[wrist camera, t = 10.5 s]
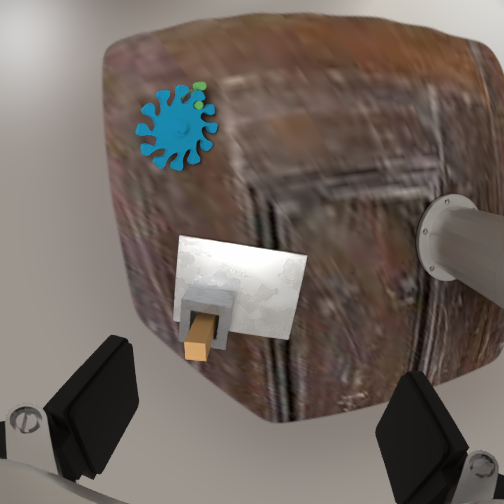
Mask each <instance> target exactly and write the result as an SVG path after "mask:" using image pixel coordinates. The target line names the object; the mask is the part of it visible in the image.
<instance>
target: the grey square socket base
mask: <svg viewBox="0 0 504 504" xmlns="http://www.w3.org/2000/svg"><path fill="white" fill-rule="evenodd" d="M306 260H307V255H306V254H301V253H295V252H289V251H283V250H276V249H270V248H264V247H258V246H252V245H245V244H239V243H233V242H226V241H220V240H214V239H208V238H201V237H195V236H188V235H182V234H181V235H180V238H179V248H178V260H177V272H176V285H175V300H174V318H173V321H178V322H180V328H179V341H180V342H184V341H185V339H186V337H187V335H188V333H189V331H190V328H191V326H192V324H193V322H194V320H195V318H196V316H197V314H198V312H203V313H209V314H214V315H219V321H218V324H217V327H216V330H215V334H214V337H213V340H212V343H211V348H216V349H222V350H225V349H226V345H227V340H228V336H229V331H232V332H239V333H245V334H251V335H258V336H265V337H272V338H279V339H287V340H288V339H289V335H290V331H291V327H292V323H293V318H294V314H295V310H296V305H297V301H298V297H299V292H300V288H301V283H302V278H303V274H304V269H305V264H306Z"/></svg>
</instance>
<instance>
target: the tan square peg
mask: <svg viewBox="0 0 504 504" xmlns="http://www.w3.org/2000/svg"><path fill="white" fill-rule="evenodd" d="M218 321H219V315H214V314H209V313H203V312H198V314H197V316H196V318H195V320H194V322H193V324H192V326H191V328H190V331H189V333H188V335H187V337H186V339H185V341H184V345H185V358H186V359H189V360H199V361H206V360H207V356H208V353H209V350H210V347H211V343H212V340H213V337H214V334H215V330H216V327H217V324H218Z"/></svg>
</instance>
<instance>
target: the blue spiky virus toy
mask: <svg viewBox="0 0 504 504" xmlns="http://www.w3.org/2000/svg"><path fill="white" fill-rule="evenodd" d="M205 89H206V83H205V82H195V83H194V84H193V89H190V90H189V88H188V87H186V86H183V85H177V86H176V88H175V98H174V101H173V102H172V104H171V105H170V106H168V105H167V100H168V98H169V96H170V91H169V90H162V91H158V92H157V93H156V97H157V98H158V100H159V102H160V105H161V112H160V114H159V115H158V116H156V115H155V106H154V105H153V104H152V103H148V104H146V105H145V106H144V107H143V108H142V109H141V112H142V113H143V114H144V115H147V116H149V117H150V118H151V119H152V120H153V122H154V124H155V127H154V129H153V130H152V131H150V130H149V128H148V126H147V125H146V124H142V123H140V124H138V126H137V129H136V134H137V135H140V136H144V135H152V136H154V137H155V138H156V140H157V141H156V144H155V145H153V146H152V145H150V144H147V143H143V144H142V145H141V152H142V155H145V156H148V155H150V154H151V153H152V152H153V151H155V150H157V149H161V148H164V149H165V153H164V155H163V156H157V157H155V158H154V159H153V163H154V164H155V165H156V166H157V167H158V168H160V169H162V168H163V167H164V166H165V164H166V161H167V160H168V158H169V157H170V156H171V155H173V154H174V153H176V152H177V158H176V159H175V160H173V161H172V162H171V164H170V168H172V169H174V170H179V171H181V170H182V169H183V157H184V155H185V153H186V151H187V150H188V149H190V154H189V156H188V158H187V161H188V163H190V164H196V163H198V162H200V157H199V156H198V154H197V152H196V143H197V141H198V140H200V148H201V149H202V150H204V151H208V150H209V149H210V148H211V147H212V146H213V144H212V142H211V141H208V140H207V139H205V137H204V136H203V134H202V128H203V127H204V126H205V128H206V130H207V132H209V133H215V132H216V130H217V127H218V124H217V123H213V122H210V123H206V122H204V121H203V120H202V119H201V114H202V113H205V114H206V115H213V114H215V108H214V105H212V104H207V105H205V106H204V107H203V103H202V102H201V101H203V100H204V99H205V95H204V93H203V92H202V91H201V90H205ZM181 98H182V100H181ZM202 107H203V108H202Z"/></svg>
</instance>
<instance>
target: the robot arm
mask: <svg viewBox="0 0 504 504" xmlns="http://www.w3.org/2000/svg"><path fill="white" fill-rule="evenodd" d="M423 230H424V231H423ZM416 245H417V253H418V257H419V260H420V263H421V265H422V266H423V268H424V269H425V270H426V271H427V272H428V274H430V275H431V276H433V277H434V278H436V279H438V280H441V281H452V280H455V279H458V280H460V281H461V282H463V283H464V284H466V285H468V286H469V287H471V288H472V289H474V290H475V291H477V292H478V293H480V294H482V295H483V296H485V297H486V298H488V299H489V300H491V301H492V302H494V303H495V304H497V305H498V306H500V307H501V308H502V309H504V216H501V215H497V214H493V213H489V212H484V211H480V210H478V209H477V207H476V206H475V205H474V203H473V202H472V201H471V200H470V199H468V198H467V197H465V196H463V195H458V194H446V195H443V196H441V197H439V198H437V199H436V200H434V201H433V202H432V203H431V204H430V205H429V206H428V208H427V209H426V211H425V212H424V214H423V216H422V218H421V221H420V223H419V227H418V231H417V239H416ZM138 404H139V397H138V390H137V382H136V374H135V365H134V356H133V347H132V344H130V343H129V342H128V340H127V339H126V338H123V337H119V336H116V335H110V336H109V337H108V338H107V339H106V340H105V341H104V342H103V343H102V344H101V345H100V347H99V348H98V349H97V350H96V351H95V352H94V353H93V354H92V355H91V356H90V357H89V358H88V359H87V360H86V361H85V363H84V364H83V365H82V366H80V368H79V369H78V370H77V371H76V372H75V373H74V374H73V375H72V376H71V378H69V380H68V381H67V382H66V383H65V384H64V385H63V386H62V387H61V388H60V389H59V391H58V392H57V393H56V394H55V395H54V396H53V397H52V399H51V400H50V401H49V402H48V403H47V404H46V405H45V407H44V408H43V409H42V408H41V407H39V406H37V405H34V404H31V403H22V404H18V405H16V406H14V407H13V408H11V410H9V412H8V414H7V415H6V420H5V421H2V422H0V504H128V503H125V502H122V501H119V500H116V499H114V498H111V497H108V496H105V495H103V494H101V493H98V492H96V491H93V490H91V489H88V488H86V487H83V486H82V485H79V482H78V480H79V479H80V477H81V475H84V476H86V477H88V478H90V479H93V480H94V478H95V476H96V474H101V473H102V472H103V470H104V469H105V467H106V465H107V463H108V461H109V459H110V457H111V455H112V454H113V452H114V450H115V448H116V446H117V444H118V443H119V441H120V439H121V437H122V435H123V434H124V432H125V430H126V428H127V426H128V424H129V423H130V421H131V419H132V417H133V415H134V414H135V412H136V410H137V408H138ZM375 433H376V438H377V441H378V444H379V448H380V451H381V454H382V457H383V460H384V463H385V467H386V470H387V474H388V477H389V480H390V484H391V487H392V491H393V495H394V498H395V501H396V503H397V504H504V475H501V474H499V473H498V471H499V466H498V463H497V461H496V459H495V457H494V456H492V455H491V454H490V453H488V452H486V451H482V450H478V451H474V452H471V453H470V454H469V455H468V454H467V452H466V451H467V450H468V449H469V446H468V444H467V443H466V441H465V439H464V437H463V436H462V434H461V432H460V431H459V429H458V427H457V425H456V424H455V422H454V420H453V419H452V417H451V415H450V414H449V412H448V410H447V409H446V408H445V406H444V404H443V402H442V401H441V399H440V398H439V396H438V394H437V393H436V391H435V390H434V388H433V387H432V385H431V383H430V382H429V380H428V379H427V377H426V376H425V374H424V373H423V372H421V371H410V372H407V373H406V374H405V375H404V376H402V377H401V378H400V380H399V382H398V384H397V387H396V389H395V391H394V393H393V395H392V397H391V399H390V401H389V404H388V406H387V408H386V410H385V412H384V414H383V416H382V417H381V420H380V421H379V423H378V425H377V427H376V432H375Z"/></svg>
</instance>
